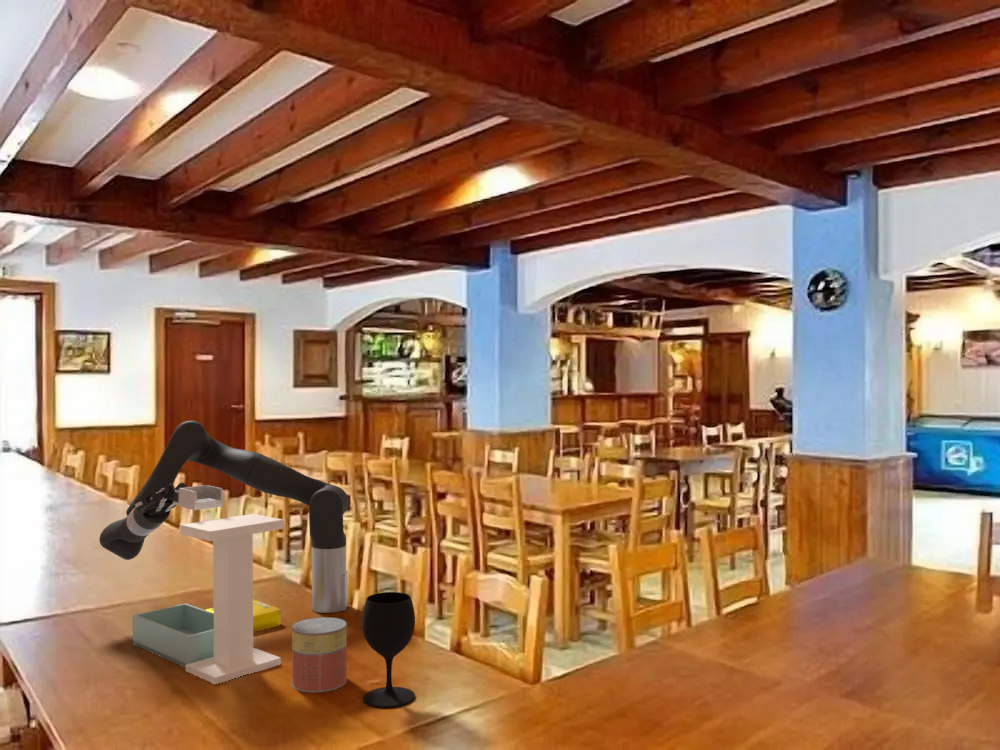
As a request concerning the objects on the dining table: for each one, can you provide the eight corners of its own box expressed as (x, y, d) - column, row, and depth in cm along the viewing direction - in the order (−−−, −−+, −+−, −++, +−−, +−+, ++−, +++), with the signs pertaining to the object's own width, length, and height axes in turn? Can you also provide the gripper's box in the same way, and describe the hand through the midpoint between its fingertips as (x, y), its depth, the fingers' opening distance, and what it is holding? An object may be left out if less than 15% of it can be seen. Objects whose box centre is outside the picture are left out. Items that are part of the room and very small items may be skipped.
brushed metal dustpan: (151, 498, 202) (151, 481, 202) (178, 495, 207) (178, 478, 207) (194, 510, 189) (194, 492, 189) (222, 506, 194) (223, 488, 194)
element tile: (283, 626, 217) (283, 607, 217) (229, 639, 206) (229, 620, 206) (254, 614, 228) (254, 596, 228) (201, 626, 217) (200, 608, 217)
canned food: (327, 668, 185) (327, 613, 185) (357, 682, 177) (357, 624, 177) (281, 682, 177) (281, 625, 177) (310, 697, 169) (310, 636, 169)
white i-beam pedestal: (181, 672, 182) (180, 524, 182) (254, 651, 196) (253, 513, 196) (210, 686, 175) (209, 531, 174) (284, 663, 188) (283, 519, 188)
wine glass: (423, 691, 171) (423, 593, 171) (401, 711, 161) (400, 606, 161) (377, 685, 175) (377, 589, 174) (353, 704, 165) (352, 602, 165)
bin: (132, 644, 202) (132, 615, 202) (186, 631, 212) (185, 603, 212) (187, 669, 185) (187, 637, 185) (242, 653, 195) (242, 622, 195)
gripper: (116, 505, 206) (146, 475, 196) (170, 498, 217) (201, 469, 207) (123, 534, 204) (154, 504, 194) (178, 525, 214) (209, 497, 204)
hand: (178, 486), depth 200 cm, fingers closed on brushed metal dustpan, 2 cm apart
